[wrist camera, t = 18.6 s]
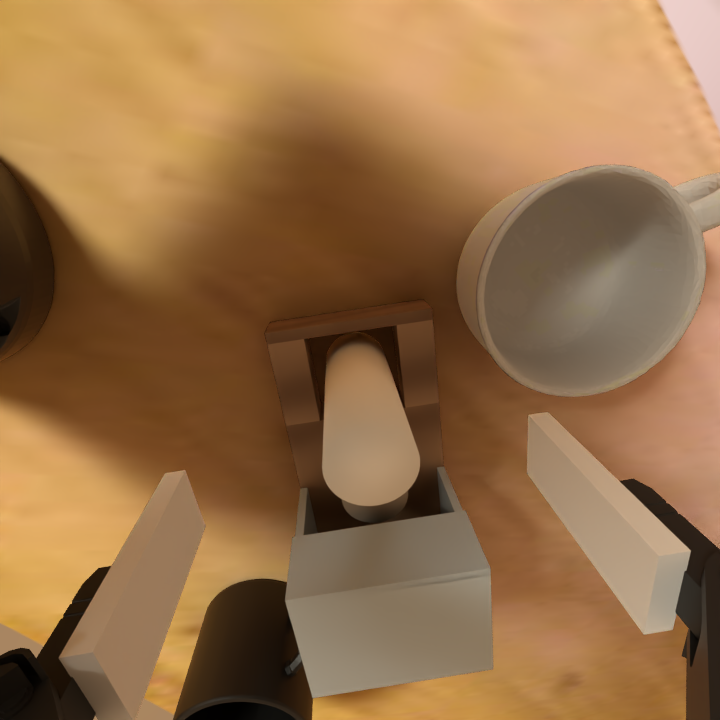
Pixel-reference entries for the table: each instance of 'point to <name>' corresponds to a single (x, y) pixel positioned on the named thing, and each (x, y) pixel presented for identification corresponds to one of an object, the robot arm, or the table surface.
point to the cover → (390, 599)
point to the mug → (246, 659)
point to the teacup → (587, 276)
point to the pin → (365, 425)
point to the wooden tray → (308, 412)
